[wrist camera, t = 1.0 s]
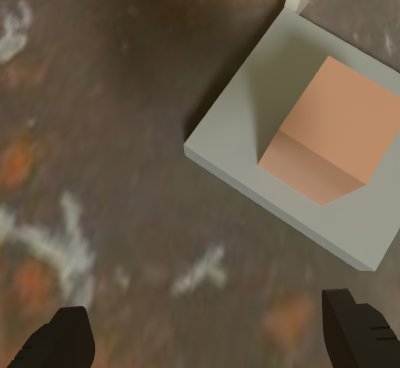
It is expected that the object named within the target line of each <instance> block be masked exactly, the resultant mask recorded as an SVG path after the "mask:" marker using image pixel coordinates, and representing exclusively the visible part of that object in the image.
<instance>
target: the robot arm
mask: <svg viewBox="0 0 400 368" xmlns="http://www.w3.org/2000/svg"><path fill="white" fill-rule="evenodd" d="M322 312H323V333H324V340H325V345H326V349H327V352H328V355H329V357H330V360H331V363H332V365H333V368H400V341H399V340H397V337H396V335H395V334H394V332H393V330H392V329H390V326H389V324H388V323H387V321H386V320H385V318H384V317H383V315H382V314H381V313H380V312H379V311H377V310H376V309H374V308H373V307H372V306H370V305H369V304H368V303H367V304H356V302H355V301H354V299H353V297H352V295H351V294H350V292H349V290H348V289H347V288H343V289H328V290H323V291H322ZM94 356H95V342H94V338H93V334H92V331H91V327H90V323H89V319H88V315H87V312H86V309H85V308H84V307H83V306H77V307H63V308H60V309H59V310H58V311H57V312H56V314H55V315H54V317H53V318H52V319H51V321H50V322H49V324H44V325H43V326H42V327H40V328H39V329H38V330H37V331H36V332H34V333H33V334H32V335H31V336H30V337H29V339H28V340H27V341H26V343H25V344H24V345H23V347H22V350H20V351H19V352H18V353H17V355H16V356H15V357H14V360H12V361H11V363H10V364H9V365H8V367H7V368H90V367H91V365H92V363H93V360H94Z"/></svg>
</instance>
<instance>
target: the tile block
mask: <svg viewBox="0 0 400 368" xmlns="http://www.w3.org/2000/svg"><path fill="white" fill-rule="evenodd" d="M399 130H400V97H399V96H397V95H395V94H394V93H392V92H390V91H389V90H387V89H385V88H384V87H382V86H380V85H378V84H377V83H375V82H373V81H372V80H370V79H368V78H366V77H365V76H363V75H361V74H360V73H358V72H356V71H355V70H353V69H351V68H349V67H348V66H346V65H344V64H343V63H341V62H339V61H337V60H336V59H334V58H332V57H331V56H328V57H327V59H326V60H325V62H324V63H323V64H322V66H321V67H320V69H319V70H318V72H317V73H316V75H315V76H314V78H313V79H312V81H311V82H310V84H309V85H308V87H307V88H306V89H305V91H304V92H303V94H302V95H301V97H300V98H299V100H298V101H297V103H296V104H295V106H294V107H293V109H292V110H291V112H290V113H289V114H288V116H287V117H286V119H285V120H284V122H283V123H282V125H281V126H280V128H279V129H278V131H277V133H276V134H275V136H274V138H273V139H272V141H271V143H270V145H269V146H268V148H267V150H266V151H265V153H264V155H263V156H262V158H261V160H260V162H259V163H258V166H260V167H261V168H263V169H264V170H266V171H267V172H269V173H270V174H272V175H273V176H275V177H277V178H278V179H280V180H281V181H283V182H284V183H286V184H287V185H289V186H290V187H292V188H293V189H295V190H297V191H298V192H300V193H301V194H303V195H304V196H306V197H307V198H309V199H310V200H312V201H314V202H315V203H317V204H318V205H320V206H322V205H324V204H326V203H329V202H331V201H333V200H335V199H337V198H339V197H341V196H344V195H346V194H348V193H350V192H352V191H354V190H356V189H359V188H361V187H363V186H365V185H367V183H368V182H369V180H370V178H371V177H372V175H373V173H374V172H375V170H376V168H377V167H378V165H379V163H380V162H381V160H382V158H383V157H384V155H385V153H386V152H387V150H388V148H389V147H390V145H391V143H392V142H393V140H394V138H395V137H396V135H397V133H398V132H399Z"/></svg>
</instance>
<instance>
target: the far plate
mask: <svg viewBox="0 0 400 368" xmlns="http://www.w3.org/2000/svg"><path fill="white" fill-rule="evenodd" d="M328 56H331V57H332V58H334V59H336V60H337V61H339V62H341V63H343V64H344V65H346V66H348V67H349V68H351V69H353V70H355V71H356V72H358V73H360V74H361V75H363V76H365V77H366V78H368V79H370V80H372V81H373V82H375V83H377V84H378V85H380V86H382V87H384V88H385V89H387V90H389V91H390V92H392V93H394V94H395V95H397V96H399V97H400V73H398V72H396V71H395V70H393V69H391V68H389V67H388V66H386V65H384V64H383V63H381V62H379V61H377V60H376V59H374V58H372V57H370V56H369V55H367V54H365V53H363V52H362V51H360V50H358V49H356V48H355V47H353V46H351V45H350V44H348V43H346V42H344V41H343V40H341V39H339V38H337V37H336V36H334V35H332V34H330V33H329V32H327V31H325V30H324V29H322V28H320V27H318V26H317V25H315V24H313V23H311V22H310V21H308V20H306V19H304V18H303V17H301V16H299V15H298V14H296V13H294V12H292V11H291V10H289V9H287V8H285V7H284V9H283V10H282V11H281V13H280V14H279V15H278V17H277V18H276V20H275V21H274V22H273V24H272V25H271V26H270V28H269V29H268V30H267V32H266V33H265V35H264V36H263V37H262V39H261V40H260V41H259V43H258V44H257V45H256V47H255V48H254V50H253V51H252V52H251V54H250V55H249V56H248V58H247V59H246V60H245V62H244V63H243V65H242V66H241V67H240V69H239V70H238V71H237V73H236V74H235V75H234V77H233V78H232V80H231V81H230V82H229V84H228V85H227V86H226V88H225V89H224V90H223V92H222V93H221V95H220V96H219V97H218V99H217V100H216V101H215V103H214V104H213V105H212V107H211V108H210V109H209V111H208V112H207V114H206V115H205V116H204V118H203V119H202V120H201V122H200V123H199V124H198V126H197V127H196V129H195V130H194V131H193V133H192V134H191V135H190V137H189V138H188V139H187V141H186V142H185V144H184V151H185V156H187V157H188V158H190V159H191V160H193V161H194V162H196V163H197V164H199V165H200V166H202V167H203V168H205V169H206V170H208V171H209V172H211V173H212V174H214V175H215V176H217V177H218V178H220V179H221V180H223V181H224V182H226V183H227V184H229V185H230V186H232V187H233V188H235V189H236V190H238V191H239V192H241V193H243V194H244V195H246V196H247V197H249V198H250V199H252V200H253V201H255V202H256V203H258V204H259V205H261V206H262V207H264V208H265V209H267V210H268V211H270V212H271V213H273V214H274V215H276V216H277V217H279V218H280V219H282V220H283V221H285V222H286V223H288V224H289V225H291V226H292V227H294V228H295V229H297V230H298V231H300V232H301V233H303V234H304V235H306V236H307V237H309V238H310V239H312V240H313V241H315V242H316V243H318V244H319V245H321V246H322V247H324V248H325V249H327V250H328V251H330V252H331V253H333V254H334V255H336V256H337V257H339V258H340V259H342V260H343V261H345V262H346V263H348V264H349V265H351V266H352V267H354V268H355V269H357V270H361V271H376V269H377V267H378V265H379V263H380V262H381V260H382V258H383V256H384V255H385V253H386V251H387V249H388V248H389V246H390V244H391V242H392V240H393V239H394V237H395V235H396V233H397V232H398V230H399V228H400V130H399V132H398V133H397V135H396V137H395V138H394V140H393V142H392V143H391V145H390V147H389V148H388V150H387V152H386V153H385V155H384V157H383V158H382V160H381V162H380V163H379V165H378V167H377V168H376V170H375V172H374V173H373V175H372V177H371V178H370V180H369V182H368V183H367V185H365V186H363V187H361V188H359V189H356V190H354V191H352V192H350V193H348V194H346V195H344V196H341V197H339V198H337V199H335V200H333V201H331V202H329V203H326V204H324V205H322V206H320V205H318V204H317V203H315V202H314V201H312V200H310V199H309V198H307V197H306V196H304V195H303V194H301V193H300V192H298V191H297V190H295V189H293V188H292V187H290V186H289V185H287V184H286V183H284V182H283V181H281V180H280V179H278V178H277V177H275V176H273V175H272V174H270V173H269V172H267V171H266V170H264V169H263V168H261V167H260V166H258V163H259V162H260V160H261V158H262V156H263V155H264V153H265V151H266V150H267V148H268V146H269V145H270V143H271V141H272V139H273V138H274V136H275V134H276V133H277V131H278V129H279V128H280V126H281V125H282V123H283V122H284V120H285V119H286V117H287V116H288V114H289V113H290V112H291V110H292V109H293V107H294V106H295V104H296V103H297V101H298V100H299V98H300V97H301V95H302V94H303V92H304V91H305V89H306V88H307V87H308V85H309V84H310V82H311V81H312V79H313V78H314V76H315V75H316V73H317V72H318V70H319V69H320V67H321V66H322V64H323V63H324V62H325V60H326V59H327V57H328Z"/></svg>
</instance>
